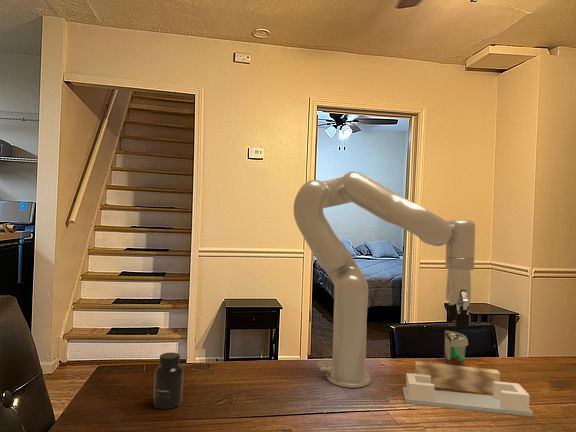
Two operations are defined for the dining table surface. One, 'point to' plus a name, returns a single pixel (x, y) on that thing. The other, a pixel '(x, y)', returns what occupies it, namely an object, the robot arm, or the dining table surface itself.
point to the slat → (459, 377)
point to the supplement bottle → (168, 381)
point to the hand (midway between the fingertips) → (458, 324)
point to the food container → (455, 348)
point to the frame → (468, 397)
